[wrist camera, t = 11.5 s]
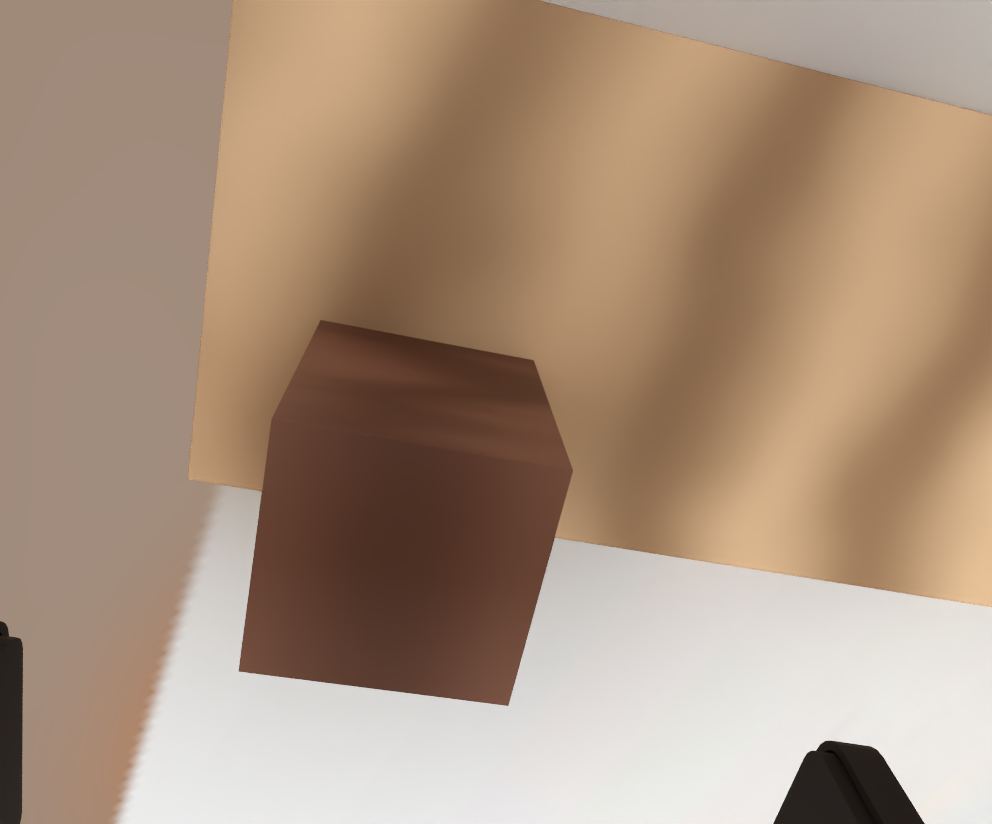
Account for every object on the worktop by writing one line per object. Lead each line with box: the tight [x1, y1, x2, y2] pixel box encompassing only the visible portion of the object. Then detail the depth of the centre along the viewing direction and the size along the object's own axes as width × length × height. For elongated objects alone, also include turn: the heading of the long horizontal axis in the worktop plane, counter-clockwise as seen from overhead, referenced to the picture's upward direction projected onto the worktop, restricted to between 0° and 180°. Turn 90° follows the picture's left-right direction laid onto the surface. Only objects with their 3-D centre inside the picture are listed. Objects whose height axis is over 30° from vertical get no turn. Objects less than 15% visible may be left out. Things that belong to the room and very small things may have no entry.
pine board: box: [188, 0, 992, 607], centre depth 20 cm, size 24×12×2 cm, turn 78°
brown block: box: [239, 320, 573, 706], centre depth 18 cm, size 5×6×8 cm
